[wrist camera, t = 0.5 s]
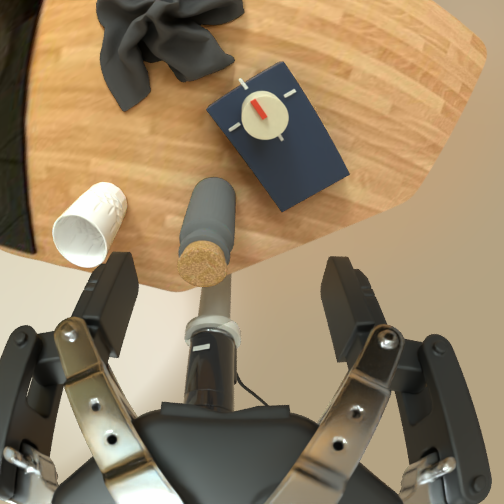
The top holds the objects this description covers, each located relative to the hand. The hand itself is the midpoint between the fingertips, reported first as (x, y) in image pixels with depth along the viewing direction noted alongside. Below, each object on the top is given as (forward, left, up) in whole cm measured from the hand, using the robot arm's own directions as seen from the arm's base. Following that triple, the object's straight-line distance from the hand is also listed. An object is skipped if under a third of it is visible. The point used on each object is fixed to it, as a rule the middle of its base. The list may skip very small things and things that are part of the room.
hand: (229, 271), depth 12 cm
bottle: (-6, +8, -27) cm, 29 cm away
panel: (-4, -3, -27) cm, 27 cm away
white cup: (+2, +22, -27) cm, 35 cm away
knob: (0, -4, -24) cm, 24 cm away
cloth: (+16, 0, -27) cm, 31 cm away
